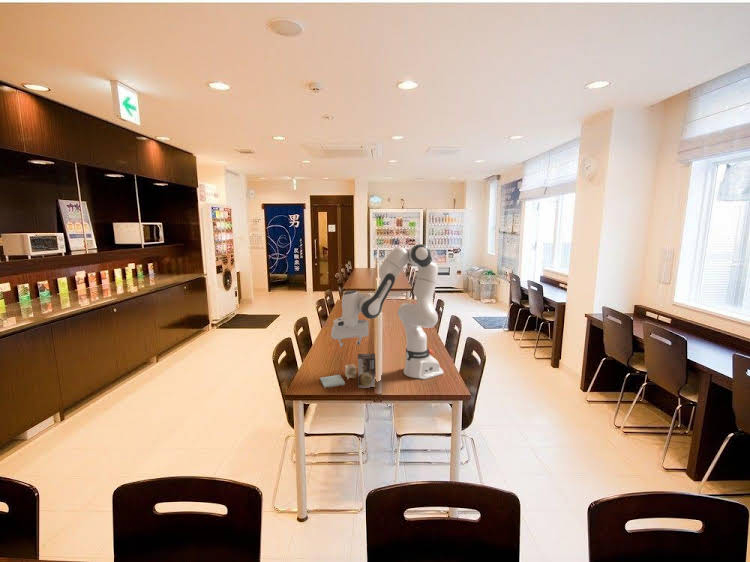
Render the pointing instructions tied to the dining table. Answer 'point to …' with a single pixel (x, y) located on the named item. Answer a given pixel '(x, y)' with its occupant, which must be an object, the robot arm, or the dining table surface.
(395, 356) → the dining table surface
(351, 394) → the dining table surface
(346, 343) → the dining table surface
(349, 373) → the ash block
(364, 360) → the coffee box
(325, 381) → the tile
